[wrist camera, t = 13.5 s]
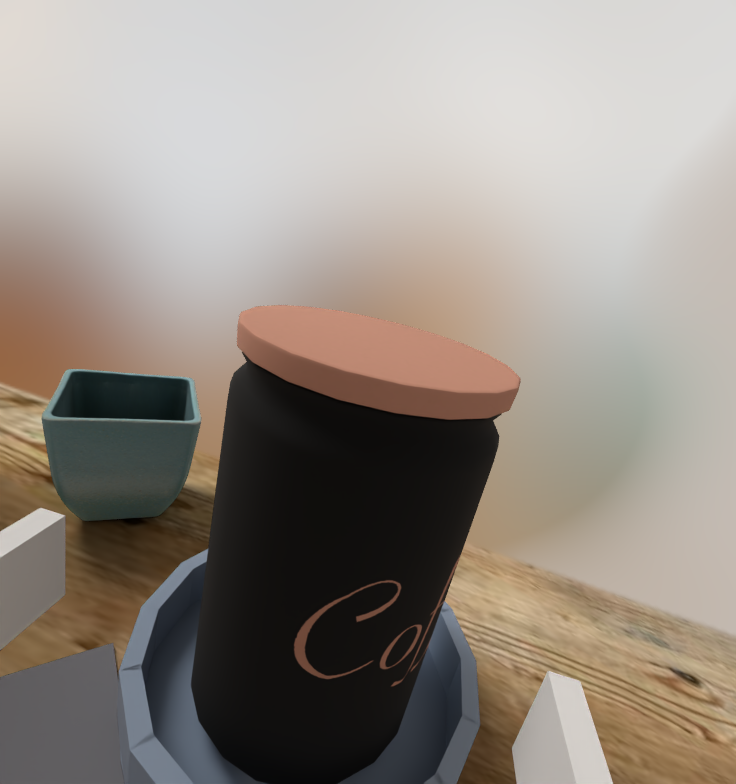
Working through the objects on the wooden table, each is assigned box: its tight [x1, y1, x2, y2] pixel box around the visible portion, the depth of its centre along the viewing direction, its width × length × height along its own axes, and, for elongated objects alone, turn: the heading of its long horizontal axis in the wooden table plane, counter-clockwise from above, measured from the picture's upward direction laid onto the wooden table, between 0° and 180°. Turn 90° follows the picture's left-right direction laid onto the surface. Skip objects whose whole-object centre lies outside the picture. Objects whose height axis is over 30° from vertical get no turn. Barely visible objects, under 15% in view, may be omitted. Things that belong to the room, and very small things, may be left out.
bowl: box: [116, 549, 480, 784], centre depth 22 cm, size 17×17×4 cm
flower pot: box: [42, 369, 201, 521], centre depth 32 cm, size 9×9×9 cm
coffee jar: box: [191, 305, 520, 784], centre depth 19 cm, size 11×11×18 cm
